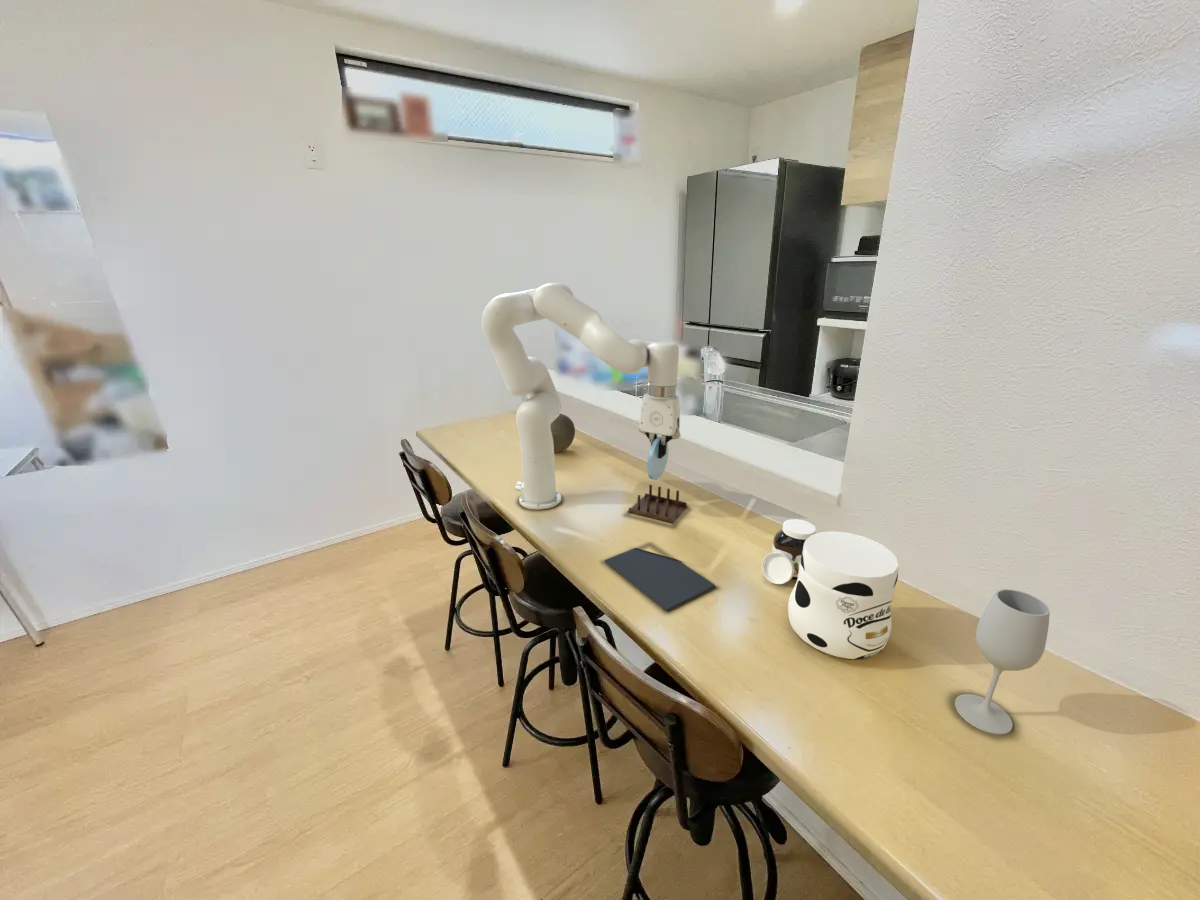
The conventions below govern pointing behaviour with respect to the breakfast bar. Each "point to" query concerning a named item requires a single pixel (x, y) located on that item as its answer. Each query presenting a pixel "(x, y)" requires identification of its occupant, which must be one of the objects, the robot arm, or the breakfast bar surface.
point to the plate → (656, 461)
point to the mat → (660, 577)
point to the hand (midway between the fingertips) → (658, 455)
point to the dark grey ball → (562, 432)
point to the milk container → (844, 595)
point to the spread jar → (787, 551)
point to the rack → (659, 506)
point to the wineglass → (1005, 651)
